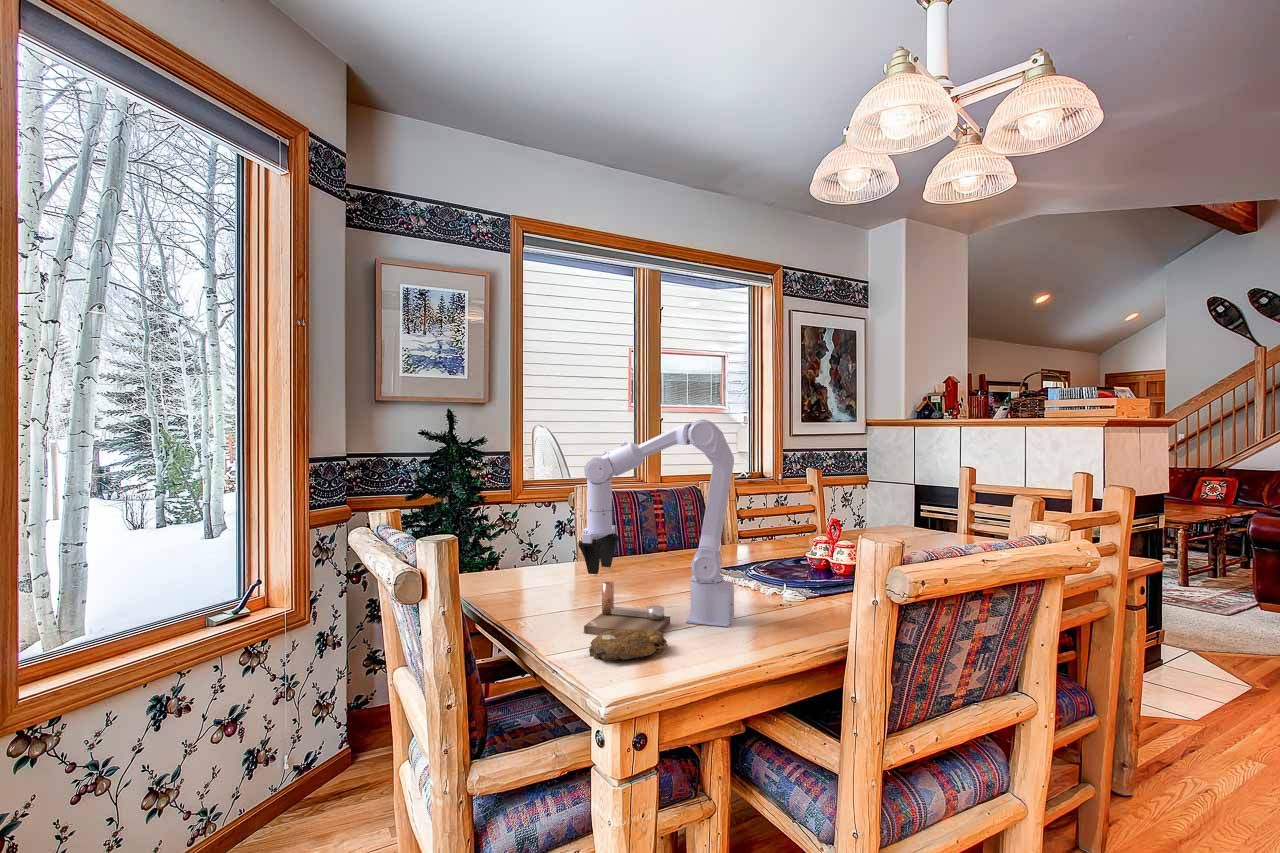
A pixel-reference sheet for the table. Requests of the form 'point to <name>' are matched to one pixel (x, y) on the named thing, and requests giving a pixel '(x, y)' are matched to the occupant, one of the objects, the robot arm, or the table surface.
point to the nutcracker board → (623, 623)
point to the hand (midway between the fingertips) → (599, 570)
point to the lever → (609, 608)
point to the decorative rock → (627, 644)
